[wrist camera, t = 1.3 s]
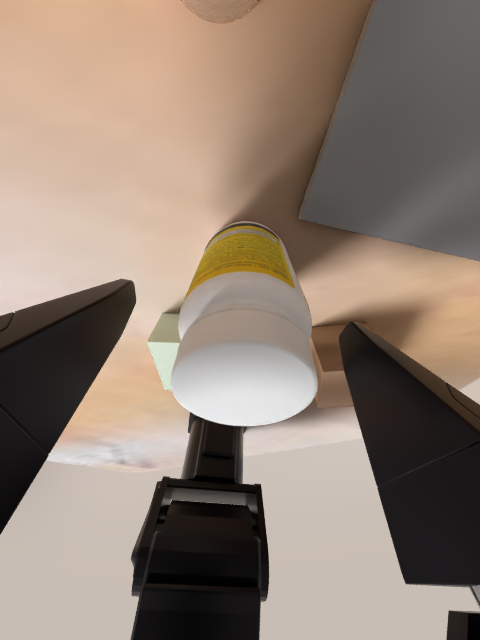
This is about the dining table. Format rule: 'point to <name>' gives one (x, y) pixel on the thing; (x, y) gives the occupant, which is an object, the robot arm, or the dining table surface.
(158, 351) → the sage box
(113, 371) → the dining table surface
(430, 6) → the coaster
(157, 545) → the robot arm
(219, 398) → the supplement bottle
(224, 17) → the metal shaker
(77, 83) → the dining table surface
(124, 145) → the dining table surface
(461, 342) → the dining table surface
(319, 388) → the walnut block
